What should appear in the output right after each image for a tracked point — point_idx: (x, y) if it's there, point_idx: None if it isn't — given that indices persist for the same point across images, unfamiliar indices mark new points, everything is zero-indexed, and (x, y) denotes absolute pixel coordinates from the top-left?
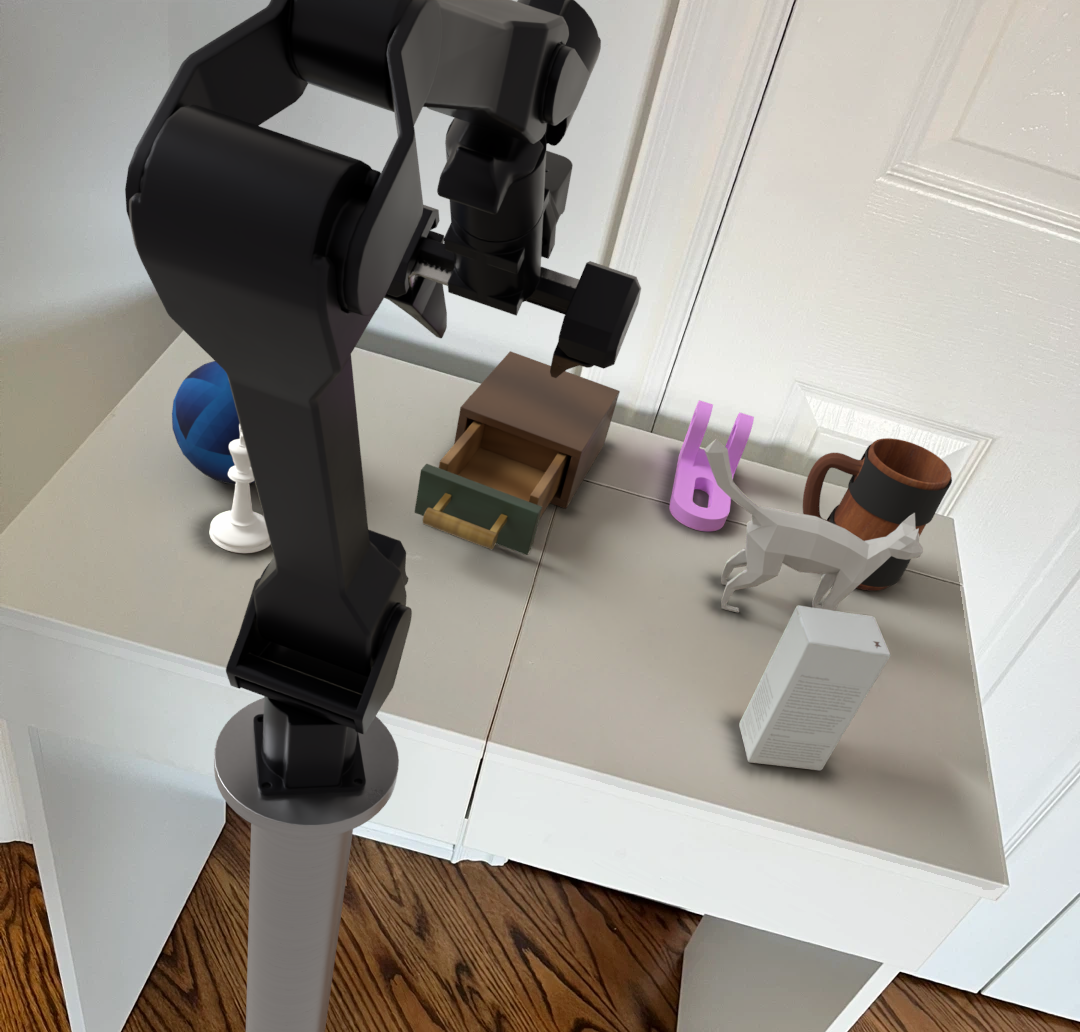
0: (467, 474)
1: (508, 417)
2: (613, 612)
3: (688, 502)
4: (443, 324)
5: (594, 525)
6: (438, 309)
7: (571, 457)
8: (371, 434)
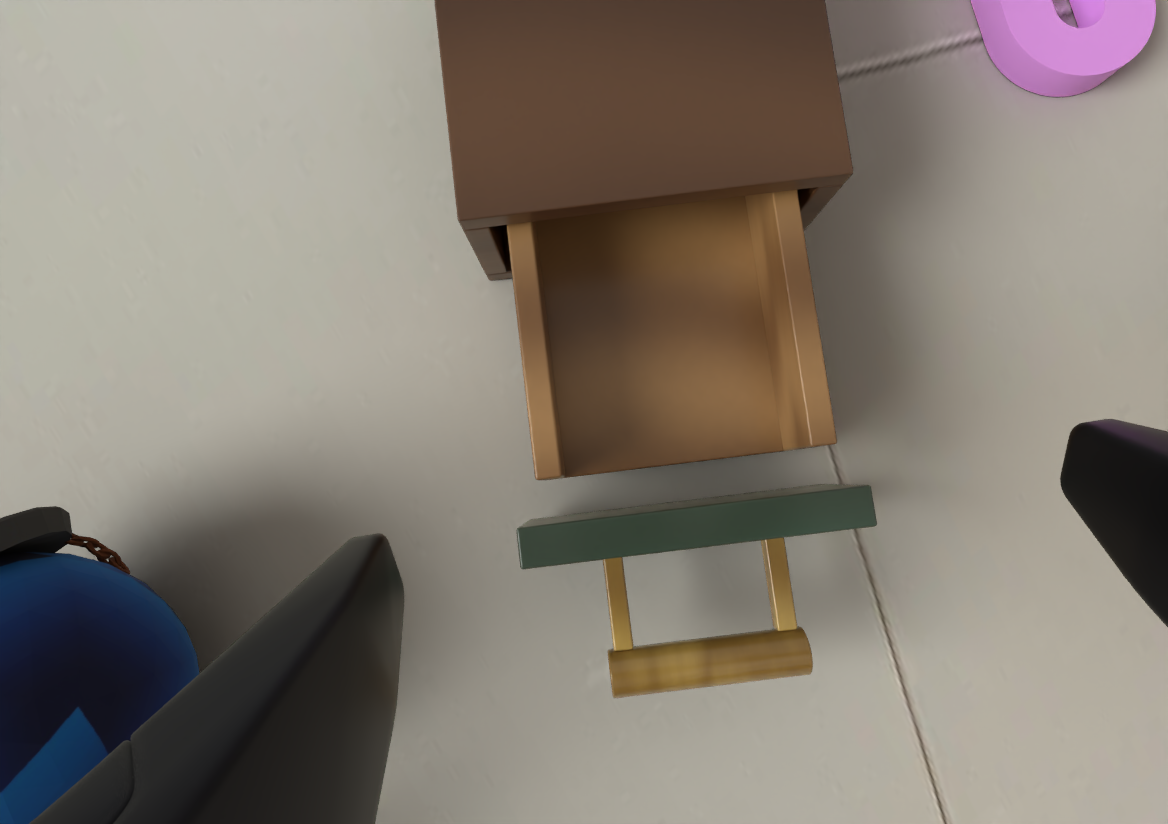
0: (569, 352)
1: (596, 164)
2: (1060, 539)
3: (1053, 32)
4: (380, 626)
5: (875, 255)
6: (321, 785)
7: (817, 187)
8: (274, 297)
